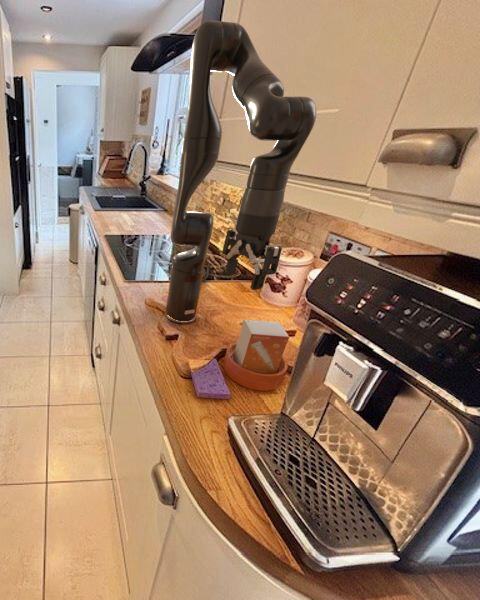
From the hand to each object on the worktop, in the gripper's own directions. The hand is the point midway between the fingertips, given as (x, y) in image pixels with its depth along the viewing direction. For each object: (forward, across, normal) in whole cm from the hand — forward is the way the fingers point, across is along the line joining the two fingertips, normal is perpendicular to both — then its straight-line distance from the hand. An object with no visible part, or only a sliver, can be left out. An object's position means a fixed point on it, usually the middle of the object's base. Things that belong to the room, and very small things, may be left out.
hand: (242, 281), depth 75 cm
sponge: (+23, -6, +9) cm, 25 cm away
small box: (+22, -7, -3) cm, 23 cm away
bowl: (+23, -7, -3) cm, 24 cm away
